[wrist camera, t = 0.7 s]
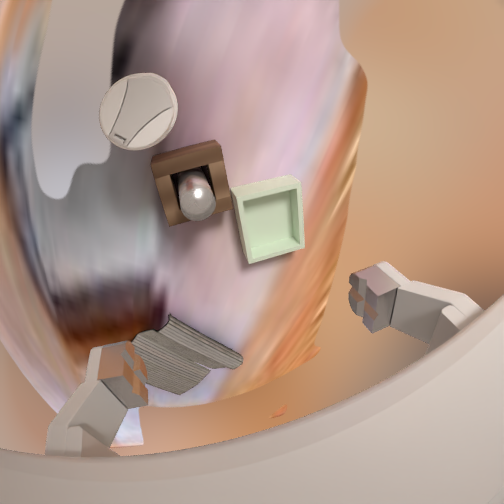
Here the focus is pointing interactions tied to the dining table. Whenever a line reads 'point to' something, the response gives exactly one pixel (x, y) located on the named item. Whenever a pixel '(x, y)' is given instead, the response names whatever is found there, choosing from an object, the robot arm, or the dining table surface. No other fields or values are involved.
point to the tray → (269, 217)
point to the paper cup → (138, 111)
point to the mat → (181, 356)
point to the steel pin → (195, 194)
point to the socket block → (185, 160)
